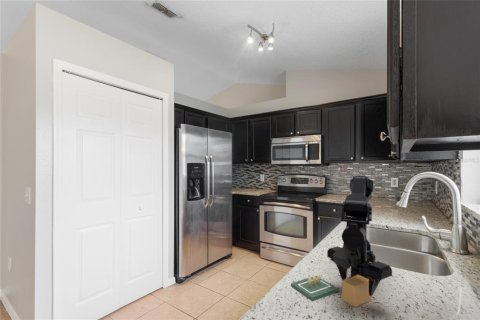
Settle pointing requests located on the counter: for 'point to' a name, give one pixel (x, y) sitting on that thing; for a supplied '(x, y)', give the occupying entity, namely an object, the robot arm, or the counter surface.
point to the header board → (314, 287)
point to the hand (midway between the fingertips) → (356, 288)
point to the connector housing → (355, 290)
